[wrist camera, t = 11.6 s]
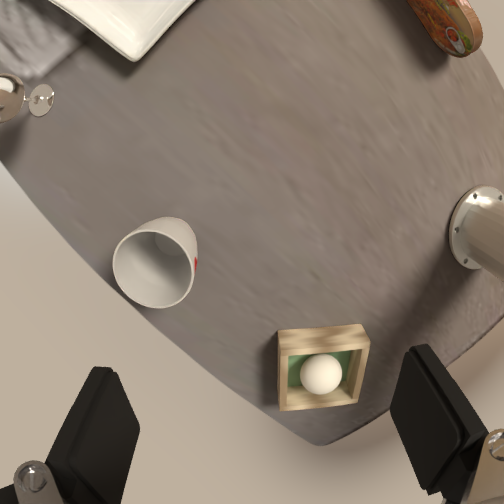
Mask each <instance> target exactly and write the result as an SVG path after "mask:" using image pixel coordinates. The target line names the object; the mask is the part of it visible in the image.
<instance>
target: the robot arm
mask: <svg viewBox="0 0 504 504" xmlns="http://www.w3.org/2000/svg"><path fill="white" fill-rule="evenodd" d="M449 243H450V248H451V251H452V254H453V256H454V257H455V259H456V260H457V261H458V262H459V263H460V264H461V265H463V266H464V267H466V268H468V269H480V268H485V269H486V270H487V271H489V272H490V273H492V274H493V275H494V276H496V277H497V278H498V279H500V280H501V281H502V282H504V195H503V194H502V193H501V192H500V191H499V190H497V189H495V188H493V187H490V186H485V185H482V186H477V187H475V188H473V189H471V190H470V191H468V192H467V193H466V194H465V195H464V196H463V197H462V198H461V200H460V201H459V203H458V204H457V206H456V208H455V210H454V213H453V215H452V219H451V222H450V228H449ZM390 413H391V417H392V419H393V421H394V424H395V426H396V428H397V430H398V433H399V435H400V438H401V440H402V442H403V445H404V447H405V449H406V452H407V454H408V457H409V459H410V461H411V464H412V467H413V469H414V472H415V474H416V477H417V479H418V482H419V484H420V487H421V488H422V489H423V490H425V489H426V491H427V493H428V495H431V494H434V493H437V492H439V491H441V493H442V496H443V501H442V503H441V504H504V429H497V430H494V431H492V432H490V433H489V432H488V431H487V429H486V427H485V426H484V424H483V423H482V421H481V419H480V418H479V416H478V415H477V413H476V412H475V410H474V409H473V407H472V406H471V404H470V403H469V401H468V399H467V398H466V396H465V395H464V393H463V392H462V390H461V389H460V387H459V386H458V385H457V383H456V382H455V380H454V379H453V378H452V377H451V375H450V374H449V372H448V371H447V370H446V368H445V367H444V365H443V364H442V363H441V361H440V360H439V358H438V357H437V356H436V354H435V353H434V351H433V350H432V349H431V347H430V346H429V345H428V344H422V345H417V346H412V347H411V348H410V349H409V352H406V353H405V355H404V359H403V363H402V367H401V371H400V375H399V378H398V382H397V385H396V389H395V392H394V396H393V399H392V402H391V406H390ZM139 432H140V426H139V422H138V420H137V418H136V416H135V414H134V411H133V409H132V407H131V405H130V403H129V400H128V398H127V395H126V393H125V391H124V389H123V386H122V383H121V381H120V379H119V376H118V374H117V373H116V372H113V370H112V369H111V368H110V367H96V366H95V367H93V369H92V370H91V372H90V374H89V376H88V378H87V379H86V381H85V383H84V385H83V387H82V389H81V391H80V392H79V394H78V396H77V398H76V400H75V402H74V404H73V406H72V407H71V409H70V411H69V413H68V415H67V417H66V419H65V421H64V423H63V425H62V427H61V429H60V431H59V433H58V435H57V437H56V440H55V442H54V444H53V446H52V448H51V450H50V452H49V455H48V457H47V459H46V461H45V463H43V462H40V461H28V462H25V463H23V464H22V465H21V466H20V467H18V468H17V470H16V472H15V475H14V484H12V485H9V486H7V487H4V488H1V489H0V504H121V499H122V495H123V492H124V488H125V484H126V480H127V476H128V473H129V469H130V465H131V461H132V458H133V454H134V451H135V447H136V443H137V440H138V436H139Z"/></svg>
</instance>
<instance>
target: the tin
mask: <svg viewBox="0 0 504 504" xmlns="http://www.w3.org/2000/svg"><path fill="white" fill-rule="evenodd" d="M407 2H408V3H409V4H410V6H411V7H412V9H413V10H414V12H415V13H416V15H417V16H418V17H419V19H420V21H421V22H422V24H423V25H424V27H425V28H426V30H427V32H428V33H429V35H430V36H431V38H432V39H433V41H434V42H435V43H436V44H437V45H438V46H439V47H440V48H441V49H442V50H443V51H445V52H446V53H448V54H449V55H452V56H454V57H459V58H463V57H466V56H468V55H469V54H471V53H473V52H475V51H476V50H477V49H478V48H479V47H480V45H481V43H482V39H483V32H482V27H481V24H480V21H479V19H478V17H477V15H476V14H475V12H474V11H473V9H472V7H471V6H470V4H469V2H468V1H467V0H407Z"/></svg>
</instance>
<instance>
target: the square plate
mask: <svg viewBox="0 0 504 504" xmlns="http://www.w3.org/2000/svg"><path fill="white" fill-rule="evenodd" d="M48 1H50V2H52V3H53V4H55V5H56V6H58V7H59V8H61V9H62V10H64V11H65V12H67V13H68V14H70V15H71V16H72V17H74V18H75V19H76V20H78V21H79V22H81V23H82V24H83V25H84V26H86V27H87V28H88V29H90V30H91V31H92V32H93V33H95V34H96V35H97V36H98V37H100V38H101V39H102V40H103V41H105V42H106V43H107V44H108V45H110V46H111V47H112V48H113V49H115V50H116V51H117V52H118V53H120V54H121V55H122V56H124V57H125V58H127V59H128V60H130V61H132V62H136V61H138V60H140V59H141V58H142V57H143V56H144V55H145V53H146V52H147V51H148V50H149V49H150V48H151V47H152V46H153V45H154V44H155V43H156V41H157V40H158V39H159V38H160V37H161V36H162V35H163V34H164V33H165V31H166V30H167V29H168V28H169V27H170V26H171V25H172V24H173V23H174V22H175V20H176V19H177V18H178V17H179V16H180V15H181V14H182V13H183V12H184V11H185V10H186V9H187V8H188V7H189V6H190V5H191V4H192V3H193V2H194V1H195V0H48Z"/></svg>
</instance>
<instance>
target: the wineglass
mask: <svg viewBox="0 0 504 504" xmlns="http://www.w3.org/2000/svg"><path fill="white" fill-rule="evenodd" d="M26 101H29V109H30V111H31V113H32V114H33V115H35V116H38V117H39V116H43V115H45V114H46V113H47V112H48V111H49V110H50V109H51V107H52V104H53V101H54V92H53V89H52V88H51V87H50V86H49V85H47V84H41V85H39V86H37V87H36V88H35V89H34V90H33V91H32V93H31V95H30V98H28V97H25V89H24V85H23V83H22V81H21V80H20V79H19V78H18V77H17V76H15V75H12V74H7V73H0V124H1V123H4V122H7V121H9V120H11V119H12V118H14V117H15V116H16V115H17V114H18V112H19V111H20V109H21V107H22V105H23V102H26Z"/></svg>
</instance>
